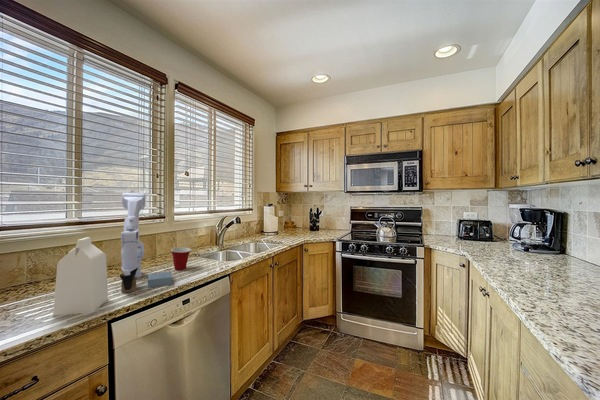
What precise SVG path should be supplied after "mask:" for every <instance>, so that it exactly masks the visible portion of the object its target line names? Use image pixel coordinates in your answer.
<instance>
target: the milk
mask: <svg viewBox="0 0 600 400" xmlns="http://www.w3.org/2000/svg"><path fill="white" fill-rule="evenodd" d="M107 265H108V264H107V255H106V253H105V252H104V251H102V250H101V249H100V248H98V247H97V246H95V245H94V244H92V238H91V237H88V236H87V237H84V238H80V239H77V242H76V244H75V247H73V248H72V249H70V250H69V251H68V253H67V254H66V255H64V256H63V257H61V259H60V260H59V261H58V262H57V264H56V274H55V276H56V278H55V287H54V288H55V290H54V300H53V312H52V317H53V316H55V317H56V316H66V315H67V316H68V314H69V315H79V314H78V313H81V314H90V313H94V312H95V311H96V310H97V309H98V308H100V306H102V305H103V304H104V303H106V302H107V301H108V300H109V295H108V291H109V290H108V273H107V272H108V270H107V269H108V267H107Z"/></svg>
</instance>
